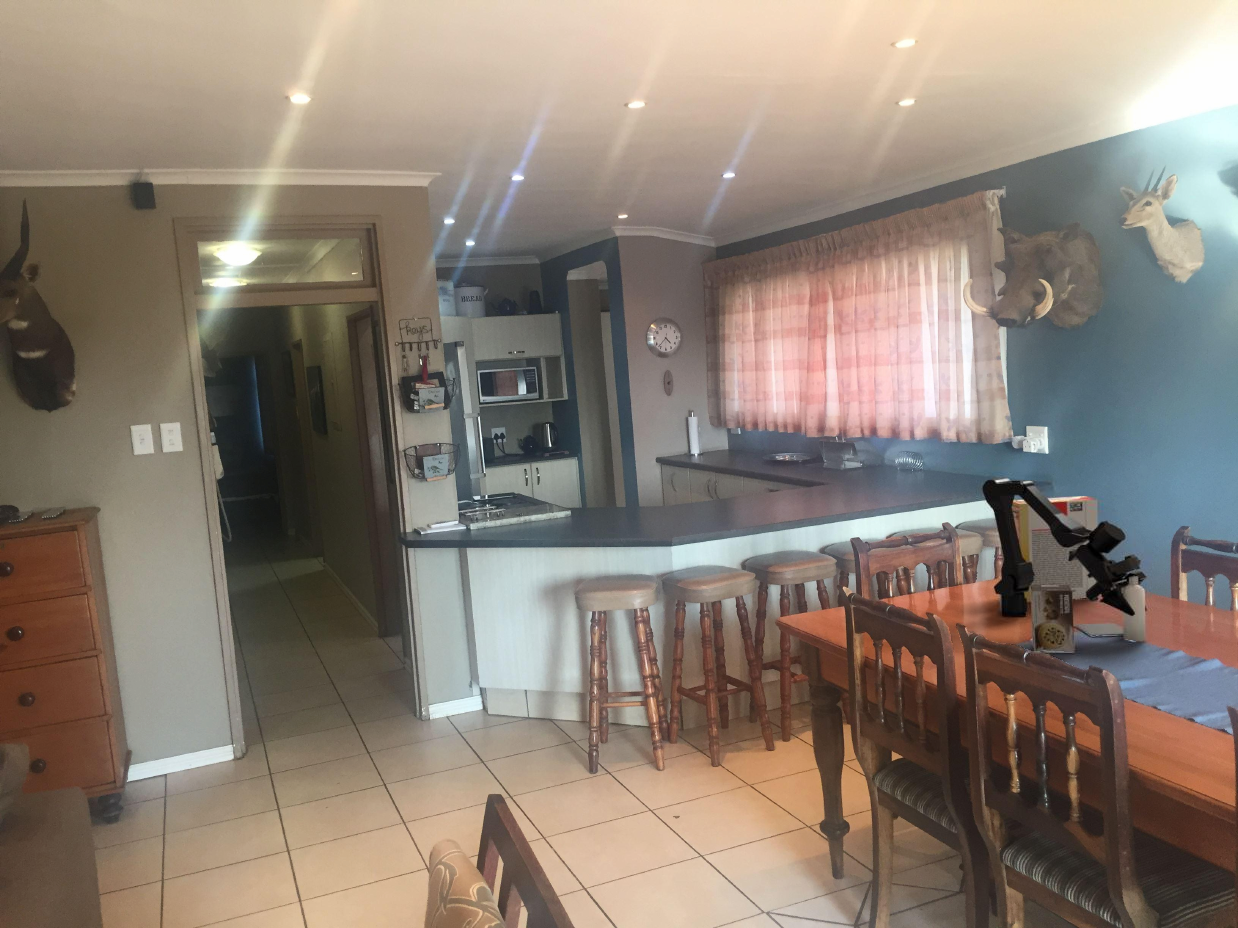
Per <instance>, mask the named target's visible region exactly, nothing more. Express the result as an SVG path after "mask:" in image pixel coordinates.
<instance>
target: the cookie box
mask: <svg viewBox="0 0 1238 928" xmlns="http://www.w3.org/2000/svg"><path fill="white" fill-rule="evenodd" d="M1073 601H1074V600H1073V594H1072V590H1071V588H1070V586H1069V585H1031V602H1030V607H1031V610H1030V611H1031V632H1032V633H1031V636H1032V637H1031V638H1032V641H1031V642H1032V648H1034V649H1033V651H1034V652H1035V651H1040V652H1045V651H1042V650H1046V651H1052V650H1053V651H1064V652H1073V653H1076V650H1075V629H1074V627H1075V624H1074V623H1075V622H1074V605H1073V604H1074V602H1073ZM1044 654H1049V653H1048V652H1045V653H1044Z"/></svg>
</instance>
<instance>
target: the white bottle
mask: <svg viewBox="0 0 1238 928" xmlns="http://www.w3.org/2000/svg"><path fill="white" fill-rule="evenodd" d="M1137 584H1138V577H1137V576H1132V577H1129V585H1127V586H1126V587H1125V588H1123V597H1124V598H1125V599H1126V601H1127V602H1128V604H1129V605H1130V606H1131V608H1132V609H1133V611H1134V612H1135V615H1133V616H1130V615H1128V614H1126V613H1124V612H1123V615H1122V617H1123V621H1122V622H1123V629H1124V636H1123V639H1124V638H1125V639H1128V640H1133V641H1140V642H1139V643H1143V642H1146V612H1145V606H1146V595H1145V592H1146V590H1145V589H1144V588H1143V587H1142V585H1140V586H1139V585H1137Z"/></svg>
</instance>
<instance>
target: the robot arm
mask: <svg viewBox="0 0 1238 928" xmlns="http://www.w3.org/2000/svg"><path fill="white" fill-rule="evenodd" d="M981 488H982V489H981V490H982V494H983V496H984V500H985V502H986V503H987V504H988V506H989V507H990V508H991V510H992V511H993V515H994V518H995V519H994V520H995V524H996V528H997V532H998V537H999V542H1000V546H1001V547H1000V548H1001V552H1002V556H1003V563H1002V566H1001V570H1000V572H1001V573H1000V576H1001V579H1000V580H999V581H998V582H997V583H996V584H994V586H993V589H994V592H995V594H996V595H999V609H998V611H999V613H1000V615H1001V616H1002V617H1027V613H1028V602H1027V599H1026V597H1025V594H1024V592H1027V591H1028V590H1029V587H1030V585H1031V584H1032V583H1033V581H1034V576H1035V574H1034V571H1033V565H1032V562H1026V560H1025V559H1024V558H1023V557H1022V553H1021V548H1020V544H1019V539H1018V535H1017V530H1016V525H1015V521H1014V516H1013V512H1012V504H1013V501H1014V500H1015V496H1019V497H1020V498H1021V500H1024V501H1025V502H1026V503H1027V504H1028V505H1029V506H1030V507H1031V508H1032V509H1033V510H1034V511H1035V512H1036V513H1037V514H1038V515H1039V516H1040V517H1041V518H1042V519H1043V520H1044V521H1045V522H1046V523H1047V524H1048V526H1049V527H1050V531H1051V534H1052V536H1053V537H1054V538H1055V540H1056V541H1057V543H1058V544H1059V545H1060V546H1062V547H1066V548H1069V547H1073V546H1077V545H1080V546H1079V547H1078V548H1077V549H1076V550H1072V551H1069V558H1068V561H1074V560H1079V562H1080V563H1081V564H1082V565H1083V566H1084V567H1085V569H1086V570H1087V571H1088V572H1089V574H1088V575H1087V576H1088V577H1089V578H1092V577H1093V578H1094V579H1095V580H1096V581H1097V582H1096V583H1095V584H1094V585H1093V586H1092V587H1090V588H1089V589H1088V590H1087V591H1086V598H1087V599H1086V600H1088V602H1090V603H1093V602H1097V601H1098V600H1099V598H1098V596H1099V597H1100V595H1101V599H1100V600H1099V602H1100V603H1103V604H1104V605H1105V604H1106V605H1107V606H1110V607H1111V608H1114V609H1116V610H1119V611H1121V612H1124V613H1126V614H1128V615H1130V616H1133V615H1135V612H1134V611H1133V609H1132V608H1131V606H1130V605H1129V604H1128V602H1127V601H1126V599H1125V598H1124V597H1123V588H1125V587H1126V586H1127V585H1129V577H1132V576H1137V577H1138V584H1137V585H1139V586H1141V584H1142V583H1143V582H1144V581H1145V580H1146V579H1147V578H1148V577H1147V576H1146V575H1145V573H1143V571H1140V569H1141V567H1140V565H1141V561H1142V560H1141V559H1140V558H1138V557H1137V556H1136V555H1135V554H1134V553H1132V554H1129V555H1126V556H1124V559H1123V560H1121V561H1120V560H1119V561H1117V562H1116V560H1114V559H1110V560H1109V559H1108V558H1107V557H1106V555H1107V554H1110V553H1112V552H1113V551H1114V550H1115V549H1116V548H1118V546H1119V545H1120V544H1121V543H1123V542H1124V541H1125V540H1126V534H1125V532H1124V530H1122V528H1120V527H1118V526H1116V525H1115V524H1113V523H1110V522H1108V520H1102V521H1101V522H1100V523H1098V526H1097V527H1096V528H1095V529H1094V530H1089V529H1086V528H1085V527H1084V526H1083V525H1081V524H1080V523H1079V522H1077V521H1076V520H1074V519H1072V518H1070V517H1067V516H1065V515H1064V514H1063V513H1062V512H1061V511H1060V510H1059V509H1058V508H1056V507H1055V506H1054V505H1053V504H1052V503H1051V502H1050V501H1049V500H1048V499H1047V498H1048V497H1046V496H1045V494H1044V493H1043V492H1042V491H1040V490H1039V489H1038V488H1037V486H1035V483H1034V482H1033V481H1031V480H1029V479H1028V480H1027V479H1026V480H1019V479H1018V480H1017V479H1016V480H1011V479H1009V478H1007V477H997V478H992V479H988V480H986V481H984V483H983V485H982V487H981ZM1086 541H1089V542H1088V543H1087V544H1086V545H1081V544H1084V543H1085V542H1086ZM1147 611H1148V609H1147V607H1146V605H1145V613H1146V612H1147Z"/></svg>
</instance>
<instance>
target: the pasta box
mask: <svg viewBox="0 0 1238 928" xmlns="http://www.w3.org/2000/svg"><path fill="white" fill-rule="evenodd" d="M1046 498H1047V499H1048V500H1049V501H1050V502H1051V503H1052V504H1053V505H1054V506H1055V507H1056V508H1058V509H1059V510H1060V511H1061V512H1062V513H1063V514H1064V515H1065V516H1067V517H1070V518H1072V519H1074V520H1076V521H1077V522H1079V523H1080V524H1081V525H1083V526H1084V527H1085V528H1086V529H1089V530H1094V529H1095V528H1096V527H1097V526H1098V525H1099V521H1098V520H1099V519H1098V518H1099V516H1098V515H1099V513H1098V511H1099V510H1098V499H1097V498H1093V497H1089V496H1086V495H1083V496H1082V495H1079V496H1065V497H1046ZM1012 512H1013V516H1014V521H1015V525H1016V530H1017V535H1018V539H1019V544H1020V548H1021V553H1022V557H1023V558H1024V559H1025V560H1026V562H1032V565H1033V571H1034V574H1035V576H1034V581H1033V583H1032V584H1031V585H1069V586H1070V588H1071V590H1072V594H1073V599H1075V600H1083V599H1082V598H1086V591H1087V590H1088V589H1089V588H1090V587H1092V586H1093V585H1094V584H1095V583H1096V582H1097V581H1096V580H1095V579H1094V578H1093V577H1092V578H1089V577H1088V576H1087V575H1088V574H1089V572H1088V571H1087V570H1086V569H1085V567H1084V566H1083V565H1082V564H1081V563H1080V562H1079V560H1074V561H1068V558H1069V551H1072V550H1076V549H1077V548H1078V547H1079V546H1080V545H1077V546H1073V547H1069V548H1066V547H1062V546H1060V545H1059V544H1058V543H1057V541H1056V540H1055V538H1054V537H1053V536H1052V534H1051V531H1050V527H1049V526H1048V524H1047V523H1046V522H1045V521H1044V520H1043V519H1042V518H1041V517H1040V516H1039V515H1038V514H1037V513H1036V512H1035V511H1034V510H1033V509H1032V508H1031V507H1030V506H1029V505H1028V504H1027V503H1026V502H1025V501H1024V500H1023V499H1014V501H1013V504H1012ZM1088 542H1089V541H1086V542H1085V543H1084V544H1081V545H1086V544H1087V543H1088ZM1031 585H1030V587H1029V590H1028V591H1027V592H1024V594H1025V597H1026V599H1027V603H1031ZM1080 598H1081V599H1080ZM1098 599H1100V595H1099V596H1098Z"/></svg>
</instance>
